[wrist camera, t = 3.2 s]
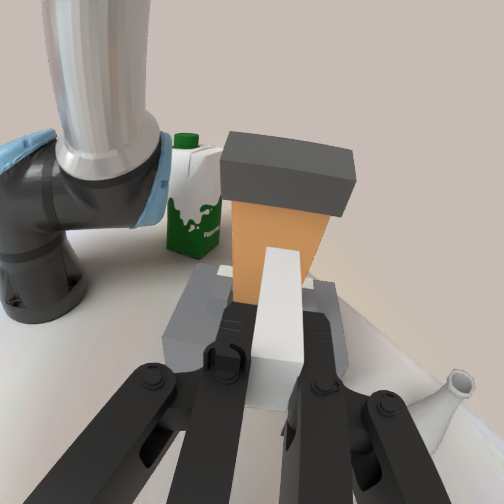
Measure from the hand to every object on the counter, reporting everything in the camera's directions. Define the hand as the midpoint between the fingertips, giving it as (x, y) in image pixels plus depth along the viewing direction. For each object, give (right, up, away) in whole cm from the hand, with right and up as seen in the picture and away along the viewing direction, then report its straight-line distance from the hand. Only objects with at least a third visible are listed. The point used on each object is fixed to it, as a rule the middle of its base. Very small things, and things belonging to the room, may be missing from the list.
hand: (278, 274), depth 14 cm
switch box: (-1, -10, +22) cm, 24 cm away
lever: (0, -5, +19) cm, 19 cm away
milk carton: (-12, +2, +41) cm, 43 cm away
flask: (+16, -19, +11) cm, 27 cm away
